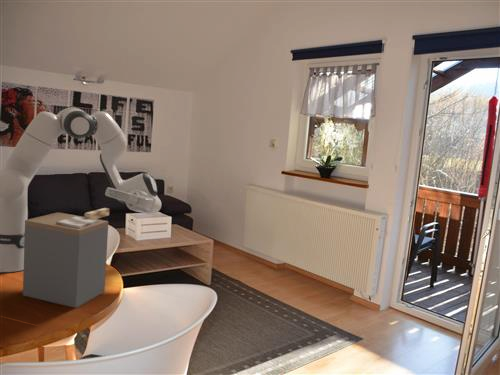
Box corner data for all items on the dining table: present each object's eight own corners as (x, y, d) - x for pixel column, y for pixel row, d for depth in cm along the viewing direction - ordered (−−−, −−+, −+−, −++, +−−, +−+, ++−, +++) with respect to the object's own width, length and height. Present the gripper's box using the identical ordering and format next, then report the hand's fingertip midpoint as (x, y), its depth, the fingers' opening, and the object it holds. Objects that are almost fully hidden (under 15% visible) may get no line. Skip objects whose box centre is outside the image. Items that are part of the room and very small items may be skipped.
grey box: (22, 295, 156) (24, 220, 152) (55, 280, 171) (57, 212, 167) (76, 307, 150) (79, 230, 146) (104, 291, 165) (108, 221, 162)
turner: (96, 212, 172) (96, 206, 172) (117, 216, 170) (117, 209, 169) (56, 224, 151) (56, 216, 151) (79, 228, 149) (80, 220, 148)
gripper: (119, 187, 197) (99, 180, 184) (159, 199, 191) (142, 193, 178) (114, 201, 197) (94, 195, 184) (154, 214, 190) (137, 209, 177)
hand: (118, 194), depth 181 cm, fingers open, 8 cm apart
